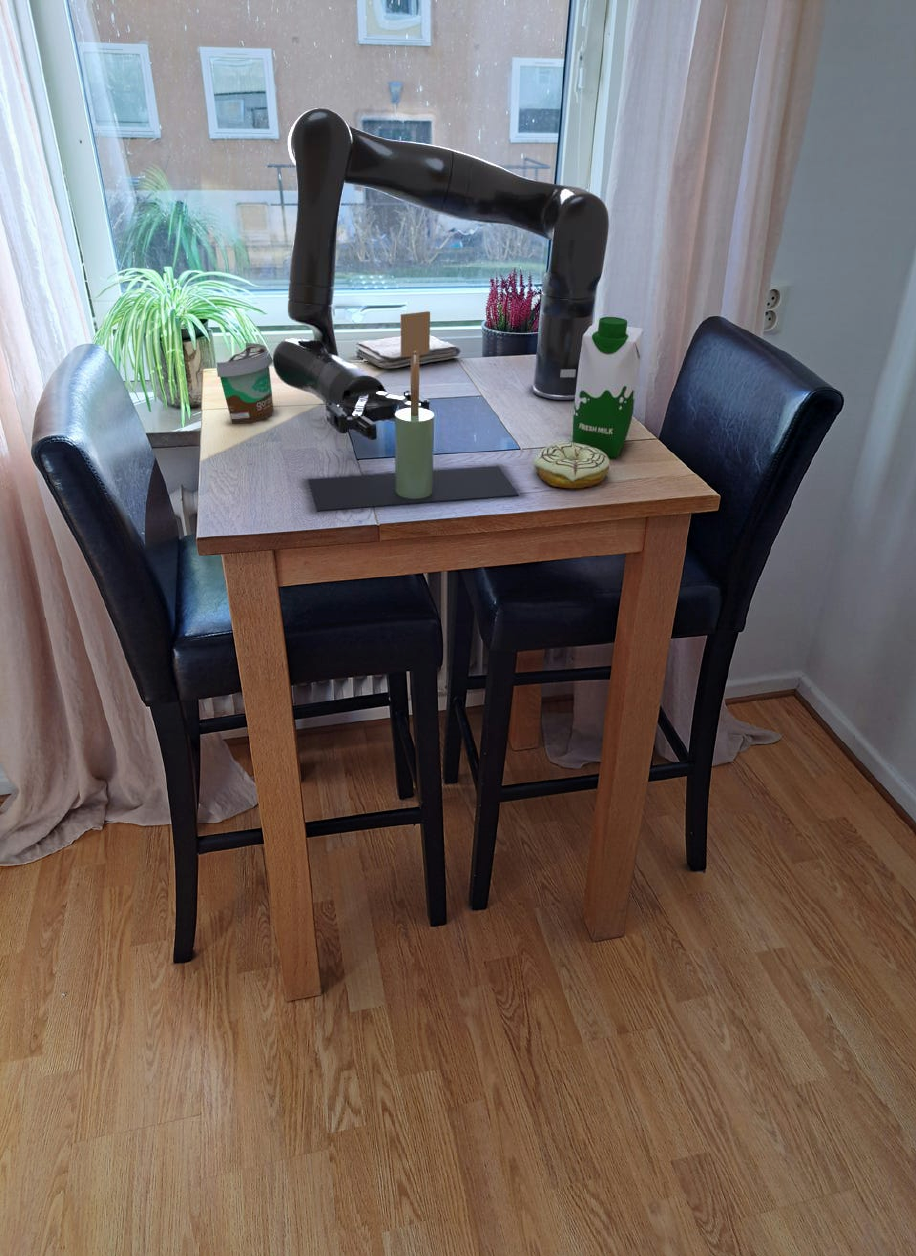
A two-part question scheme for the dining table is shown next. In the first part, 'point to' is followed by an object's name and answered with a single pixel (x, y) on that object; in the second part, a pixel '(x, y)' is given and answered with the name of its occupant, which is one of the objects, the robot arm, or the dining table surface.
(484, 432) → the dining table surface
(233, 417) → the food container
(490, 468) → the mat
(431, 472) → the spatula crock
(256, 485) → the dining table surface
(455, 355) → the washcloth
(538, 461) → the decorated donut
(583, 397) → the milk carton
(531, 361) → the dining table surface
